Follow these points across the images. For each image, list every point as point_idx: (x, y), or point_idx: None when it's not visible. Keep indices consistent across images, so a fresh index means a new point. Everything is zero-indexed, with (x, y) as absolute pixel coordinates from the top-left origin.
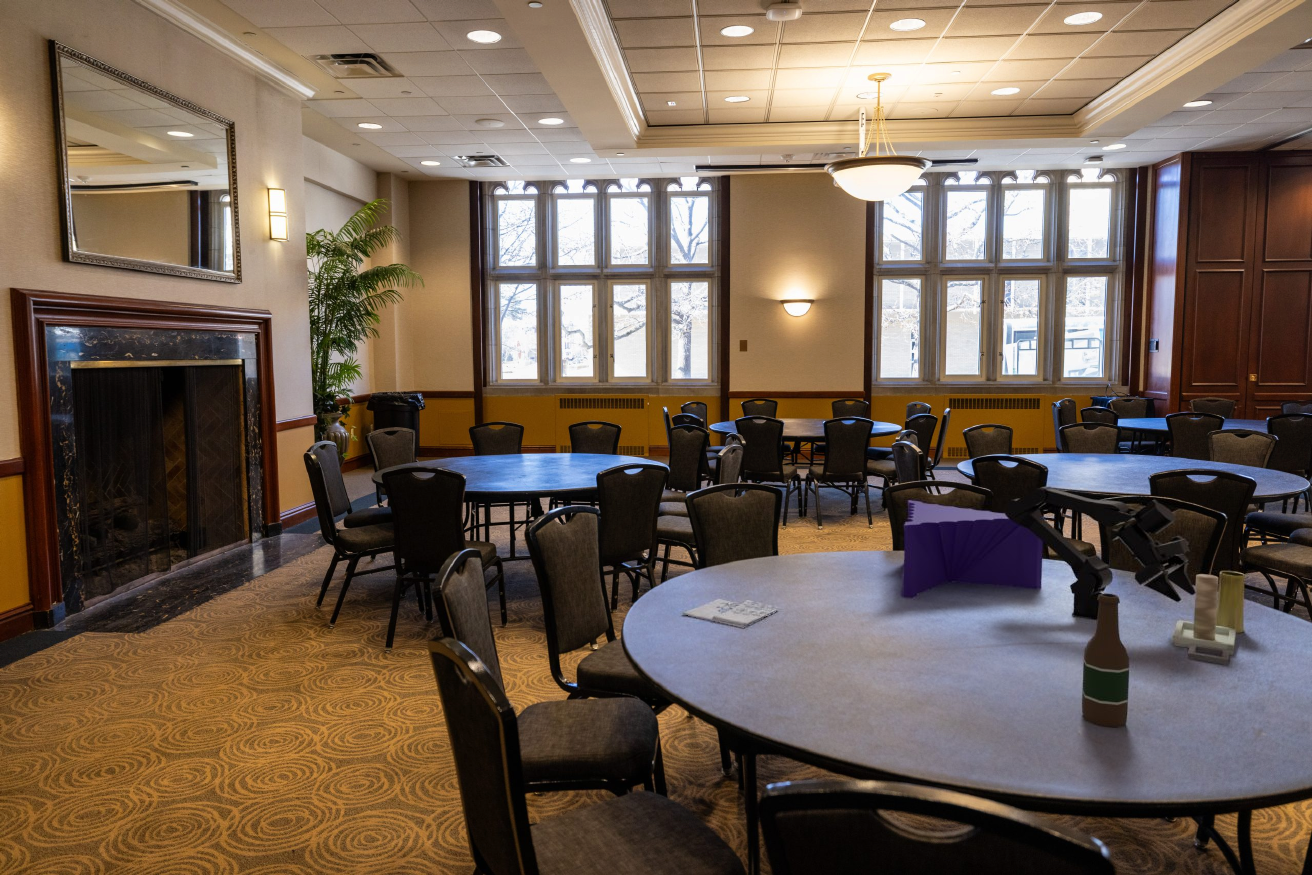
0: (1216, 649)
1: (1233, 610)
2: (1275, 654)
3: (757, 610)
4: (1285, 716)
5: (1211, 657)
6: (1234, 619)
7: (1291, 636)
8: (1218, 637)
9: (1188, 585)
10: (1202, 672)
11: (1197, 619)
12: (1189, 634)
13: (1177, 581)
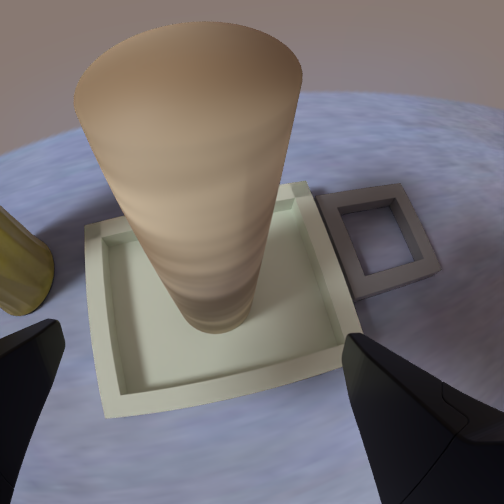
0: (342, 223)
1: (10, 224)
2: None
3: None
4: (493, 117)
5: (416, 217)
6: (28, 236)
7: (23, 159)
8: None
9: (24, 362)
10: (478, 220)
11: (254, 289)
12: (210, 350)
13: (4, 450)
